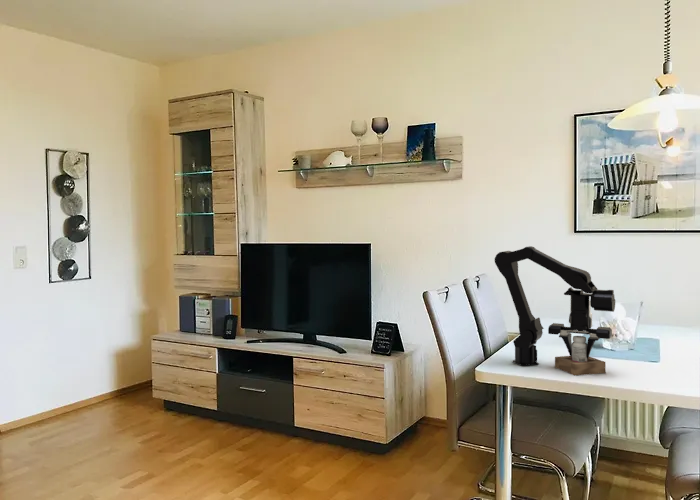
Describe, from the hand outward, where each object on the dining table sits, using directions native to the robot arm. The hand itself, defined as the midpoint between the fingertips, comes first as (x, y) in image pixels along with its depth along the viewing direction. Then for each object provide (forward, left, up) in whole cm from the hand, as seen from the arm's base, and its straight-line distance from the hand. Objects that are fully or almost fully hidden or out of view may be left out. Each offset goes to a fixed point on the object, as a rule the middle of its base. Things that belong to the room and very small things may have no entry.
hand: (579, 357), depth 196 cm
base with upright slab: (+49, +69, -5) cm, 85 cm away
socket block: (0, 0, -4) cm, 4 cm away
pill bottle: (0, 0, -2) cm, 2 cm away
